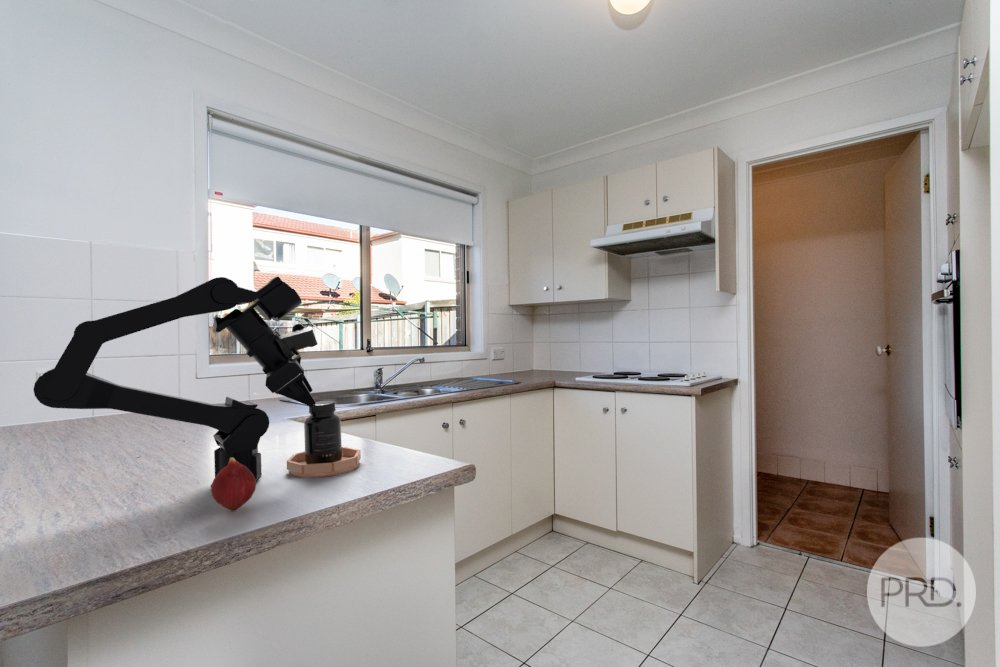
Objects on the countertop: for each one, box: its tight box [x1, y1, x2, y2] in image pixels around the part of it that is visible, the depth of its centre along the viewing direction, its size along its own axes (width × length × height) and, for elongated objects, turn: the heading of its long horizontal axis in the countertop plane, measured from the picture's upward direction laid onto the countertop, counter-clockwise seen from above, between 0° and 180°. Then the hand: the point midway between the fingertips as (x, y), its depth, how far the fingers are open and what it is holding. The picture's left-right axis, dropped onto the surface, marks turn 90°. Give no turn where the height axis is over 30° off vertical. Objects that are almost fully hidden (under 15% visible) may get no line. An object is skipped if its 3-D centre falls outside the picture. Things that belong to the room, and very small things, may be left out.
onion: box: [210, 458, 257, 512], centre depth 72 cm, size 6×6×8 cm
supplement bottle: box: [303, 400, 343, 464], centre depth 94 cm, size 7×7×12 cm
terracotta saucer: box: [286, 446, 362, 479], centre depth 94 cm, size 13×13×2 cm
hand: (312, 398), depth 94 cm, fingers open, 9 cm apart
